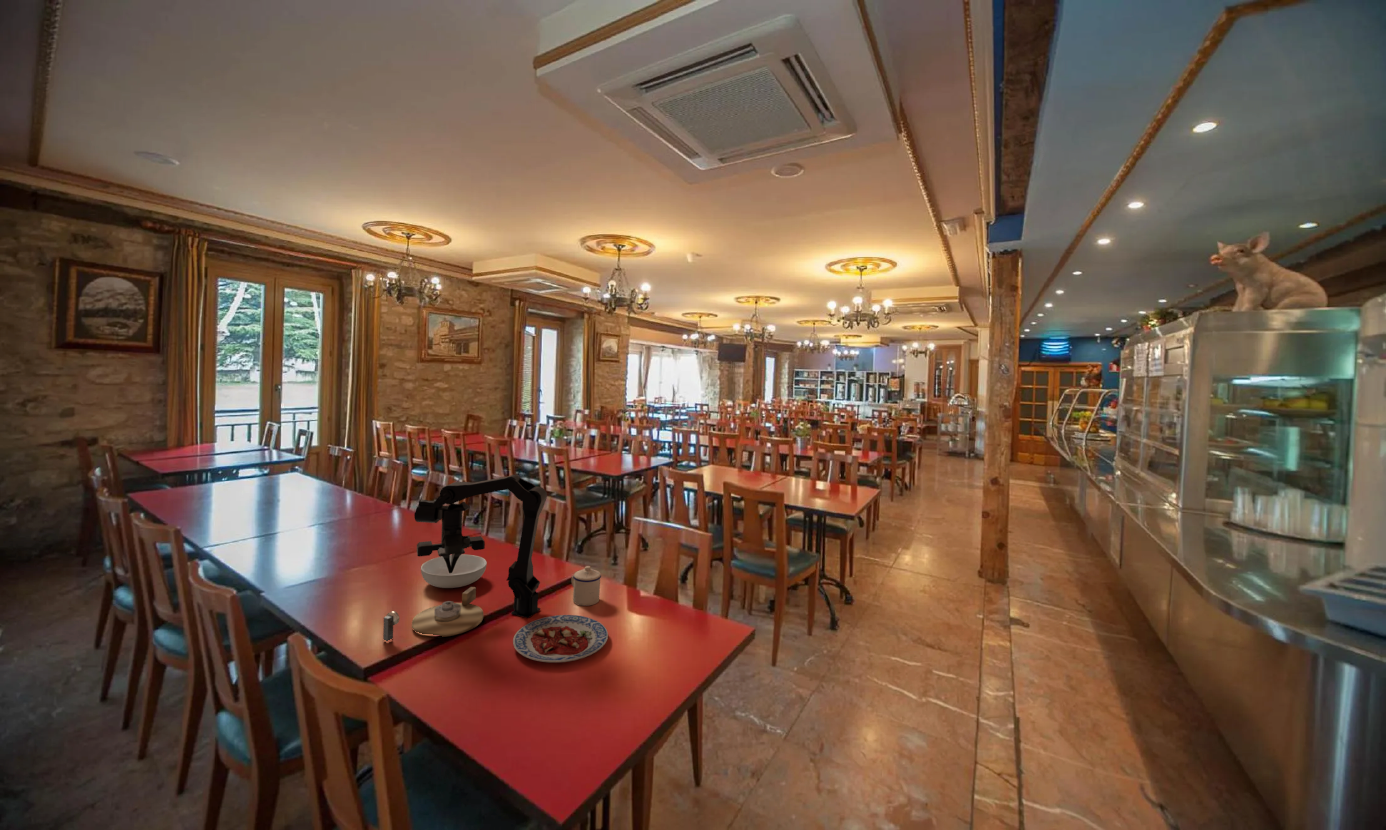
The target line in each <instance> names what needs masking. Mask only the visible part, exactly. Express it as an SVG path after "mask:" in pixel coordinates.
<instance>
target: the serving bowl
mask: <svg viewBox="0 0 1386 830" xmlns="http://www.w3.org/2000/svg"><path fill="white" fill-rule="evenodd" d="M451 558H452V554H451V555H450V565H451ZM487 563H488V562H487V560H486V559H485V558H484V557H482V556H479V555H473V554H465V553H464V554H461V555H460V556H459V558H458V560H457V562H456V564H455V567H454V569H453V572H452V573H449V571H448V568H447V565H446V562H445V560H444V558H443V557H442V556H441V557H440V556H437V557H434V558H432V559H429V560H427V561H425V562H423V563H422V565H421V567H420V573H421V576H422V578H423V581H425V582H426V583H427V584H429V585H431V586H433V587H436V588H441V589H453V588H455V589H456V588H461V587H465V586H468V585H471V584H473V583H475V582H476V581H478V580H479V579H480V578H482V576H483V575H484V573H485V572H486V568H487V565H488V564H487Z"/></svg>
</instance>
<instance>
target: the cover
mask: <svg viewBox="0 0 1386 830" xmlns="http://www.w3.org/2000/svg"><path fill="white" fill-rule="evenodd" d="M456 603H457V602H454V601H451V600H447V601H443V602H442V603H441V604H439V605H440V606H438V605H437V606H438V607H436V608H435V611H434V619H435V620H436V621H438V622H450V621H453V620H456V619H458V618H459V617H460V615H461V606H460V605H459V604H456Z"/></svg>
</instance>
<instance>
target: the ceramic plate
mask: <svg viewBox="0 0 1386 830" xmlns="http://www.w3.org/2000/svg"><path fill="white" fill-rule="evenodd" d="M608 638H609V633H608V630H607V628H606V627H605V626H604V624H603V623H602V622H600V621H598V620H595V619H593V618H591V617H587V616H584V615H583V616H582V615H577V614H560V615H559V614H558V615H550V616H546V617H545V616H544V617H542V618H538V619H536V620H532V621H531V622H529V623H527V624H525V625H523V626H522V627H521V628H520V629H519V630H517V632H516V633H515V634H514V636H513V639H512V643H513V647H514V649H515V651H516V652H517V653H518V654H520V655H521V656H523V657H524V658H527V659H530V660H533V661H537V662H543V663H566V662H572V661H577V660H581V659H584V658H586V657H589V656H591V655H593V654H595V653H597V652H598V651H600V650H601V649H602V648H603V647H604V646H605V644H607V641H608Z"/></svg>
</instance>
